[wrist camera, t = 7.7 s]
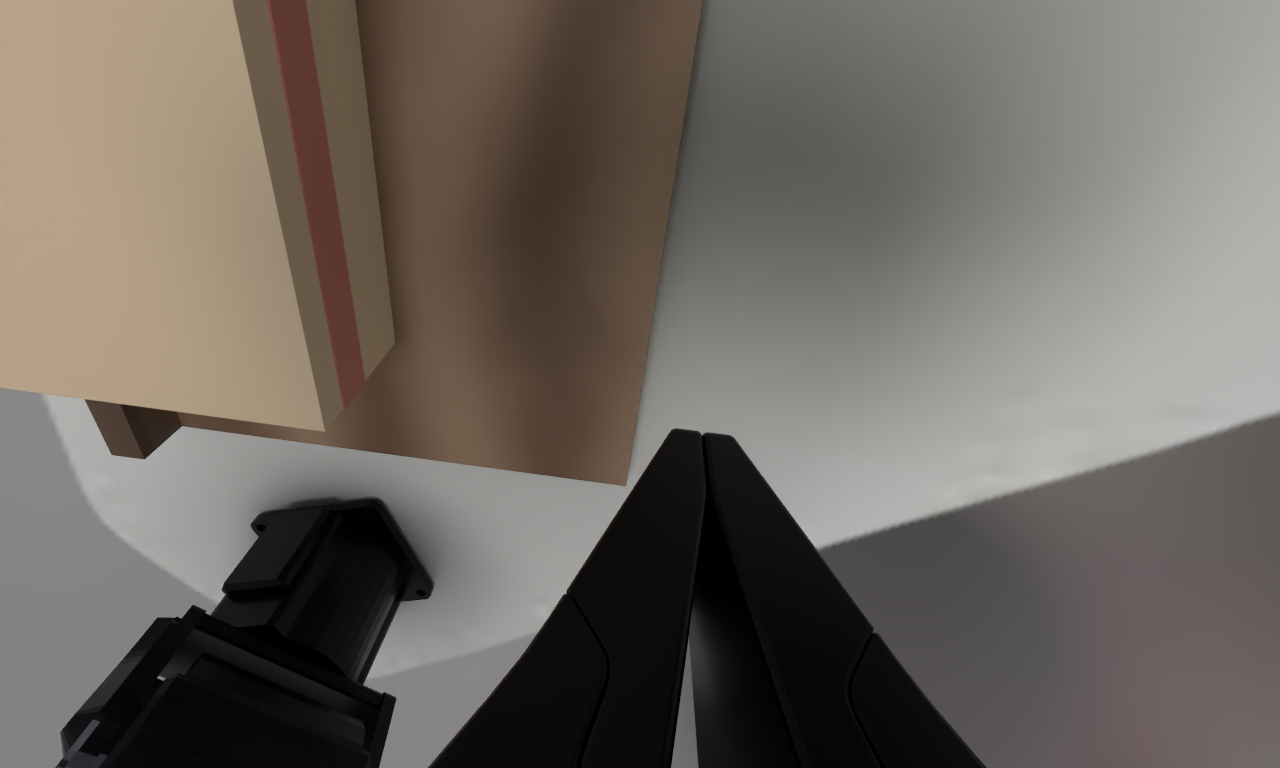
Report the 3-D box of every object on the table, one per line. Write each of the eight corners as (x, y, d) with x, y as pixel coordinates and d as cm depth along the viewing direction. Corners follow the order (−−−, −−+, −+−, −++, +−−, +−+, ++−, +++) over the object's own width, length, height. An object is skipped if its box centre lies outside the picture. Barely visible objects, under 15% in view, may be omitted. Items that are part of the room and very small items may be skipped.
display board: (748, -297, 13) (764, -365, 10) (628, 469, 25) (621, 523, 23) (-166, -450, 12) (-380, -558, 10) (169, 407, 25) (111, 454, 22)
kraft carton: (346, -90, 14) (209, -119, 10) (396, 344, 21) (326, 433, 17) (-42, -151, 14) (-343, -206, 10) (135, 308, 21) (-1, 389, 17)
